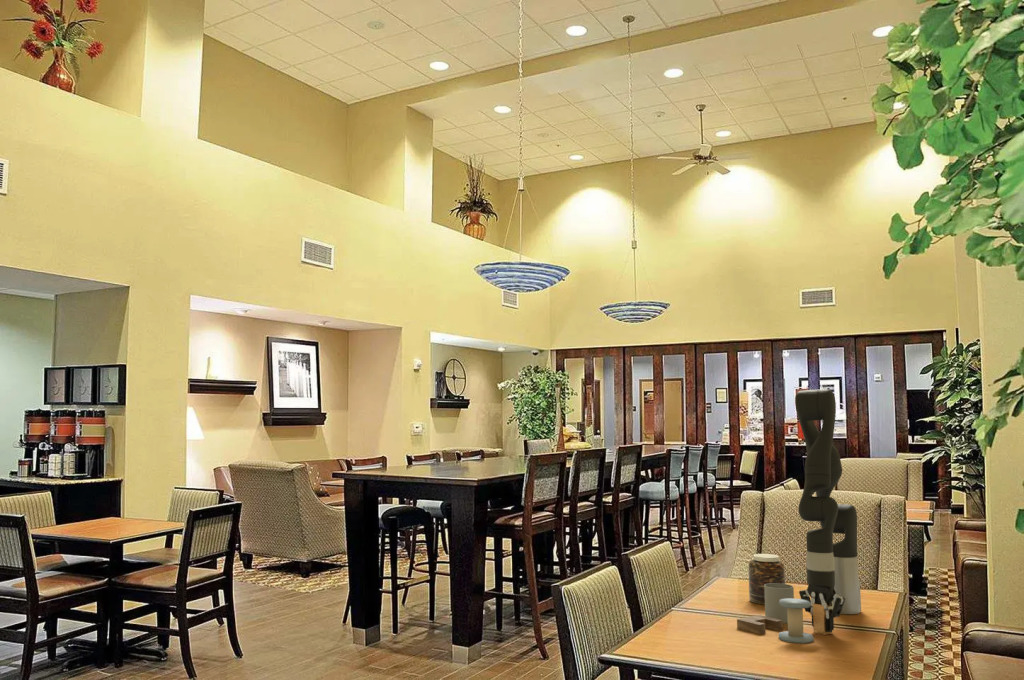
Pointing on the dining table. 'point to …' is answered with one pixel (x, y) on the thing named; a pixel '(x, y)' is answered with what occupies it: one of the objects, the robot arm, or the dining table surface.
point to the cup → (777, 600)
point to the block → (819, 619)
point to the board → (759, 624)
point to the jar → (764, 575)
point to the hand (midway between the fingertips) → (822, 630)
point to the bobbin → (795, 621)
